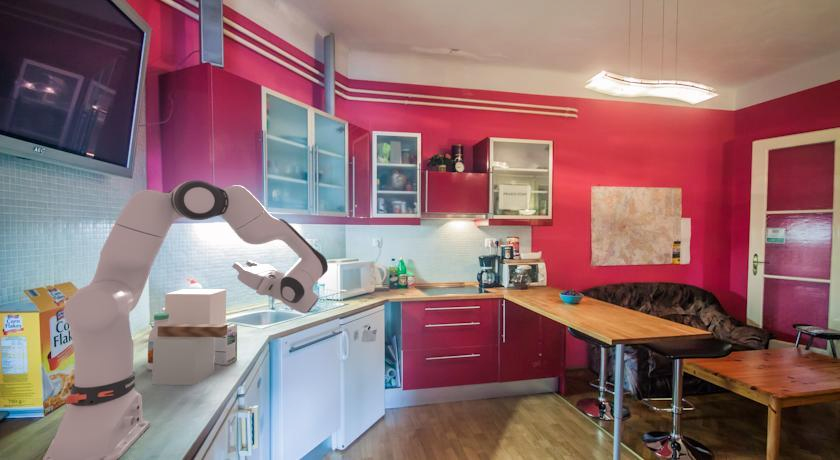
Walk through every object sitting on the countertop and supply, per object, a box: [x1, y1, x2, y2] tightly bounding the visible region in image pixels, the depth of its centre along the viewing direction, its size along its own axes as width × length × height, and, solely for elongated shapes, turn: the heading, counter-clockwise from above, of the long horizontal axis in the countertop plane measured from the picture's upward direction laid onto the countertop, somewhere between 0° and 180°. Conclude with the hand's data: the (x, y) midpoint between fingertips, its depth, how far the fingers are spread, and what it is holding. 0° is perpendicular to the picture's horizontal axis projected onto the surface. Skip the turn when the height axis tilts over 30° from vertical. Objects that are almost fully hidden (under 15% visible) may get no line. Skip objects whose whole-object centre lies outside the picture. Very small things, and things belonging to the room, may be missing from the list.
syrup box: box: [214, 323, 238, 366], centre depth 137 cm, size 6×6×14 cm
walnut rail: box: [158, 323, 228, 337], centre depth 122 cm, size 22×4×4 cm, turn 91°
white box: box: [164, 288, 227, 324], centre depth 147 cm, size 18×12×26 cm, turn 91°
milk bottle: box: [147, 312, 169, 372], centre depth 131 cm, size 8×8×20 cm
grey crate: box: [151, 337, 215, 386], centre depth 122 cm, size 14×11×15 cm
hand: (241, 263), depth 124 cm, fingers open, 8 cm apart
